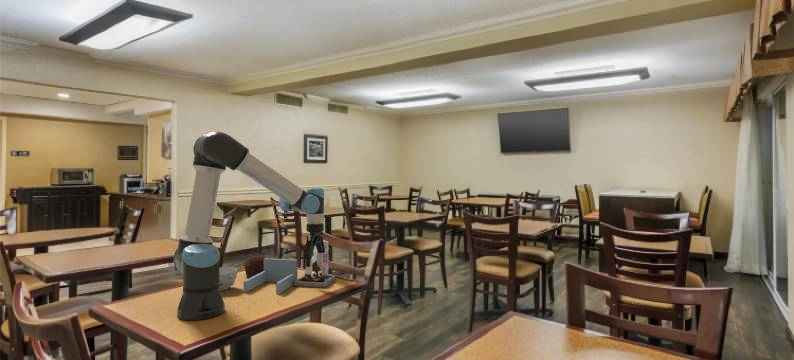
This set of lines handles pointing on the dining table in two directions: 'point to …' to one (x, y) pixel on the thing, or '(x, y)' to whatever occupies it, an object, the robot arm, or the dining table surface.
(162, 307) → the dining table surface
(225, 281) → the teacup
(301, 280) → the tray
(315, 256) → the candy box
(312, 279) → the poop emoji
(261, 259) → the muffin
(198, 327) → the dining table surface
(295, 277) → the bay
